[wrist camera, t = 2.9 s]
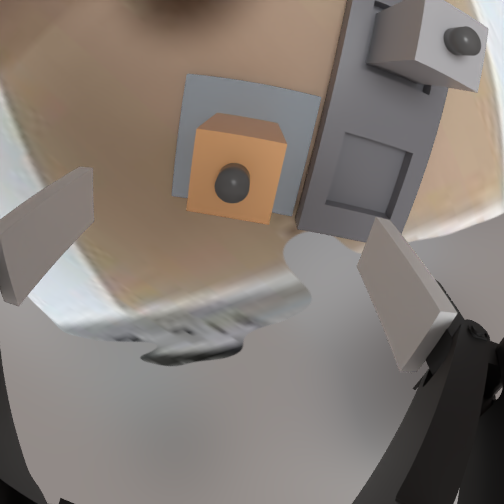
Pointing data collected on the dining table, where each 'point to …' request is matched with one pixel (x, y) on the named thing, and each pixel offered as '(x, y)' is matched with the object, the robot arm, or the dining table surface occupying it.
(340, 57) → the grey socket base
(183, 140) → the mat
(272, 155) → the plug
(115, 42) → the dining table surface
